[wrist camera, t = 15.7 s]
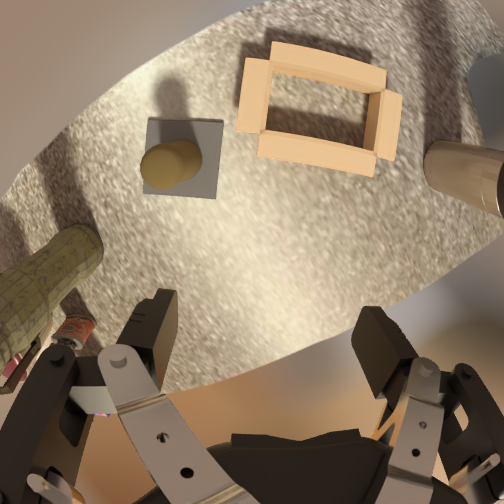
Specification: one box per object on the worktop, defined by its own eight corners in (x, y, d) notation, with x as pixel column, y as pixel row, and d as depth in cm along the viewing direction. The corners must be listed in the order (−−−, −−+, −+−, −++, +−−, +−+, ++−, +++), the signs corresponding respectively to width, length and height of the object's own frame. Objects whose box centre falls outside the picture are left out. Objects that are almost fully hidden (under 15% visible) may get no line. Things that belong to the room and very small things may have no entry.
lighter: (93, 314, 47) (72, 346, 38) (99, 328, 49) (79, 360, 39) (65, 312, 47) (42, 341, 38) (70, 325, 48) (49, 355, 39)
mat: (223, 123, 35) (223, 123, 35) (215, 198, 39) (215, 199, 39) (148, 120, 34) (147, 120, 34) (144, 193, 39) (143, 193, 38)
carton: (391, 81, 32) (403, 77, 29) (378, 177, 38) (390, 181, 35) (248, 47, 31) (248, 38, 27) (234, 152, 37) (232, 154, 33)
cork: (164, 183, 38) (137, 200, 28) (158, 143, 35) (128, 146, 25) (205, 177, 38) (190, 192, 28) (199, 135, 35) (182, 134, 25)
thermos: (89, 283, 44) (-16, 431, 12) (53, 233, 40) (-83, 349, 8) (118, 261, 43) (-2, 432, 11) (80, 205, 39) (-87, 325, 7)
